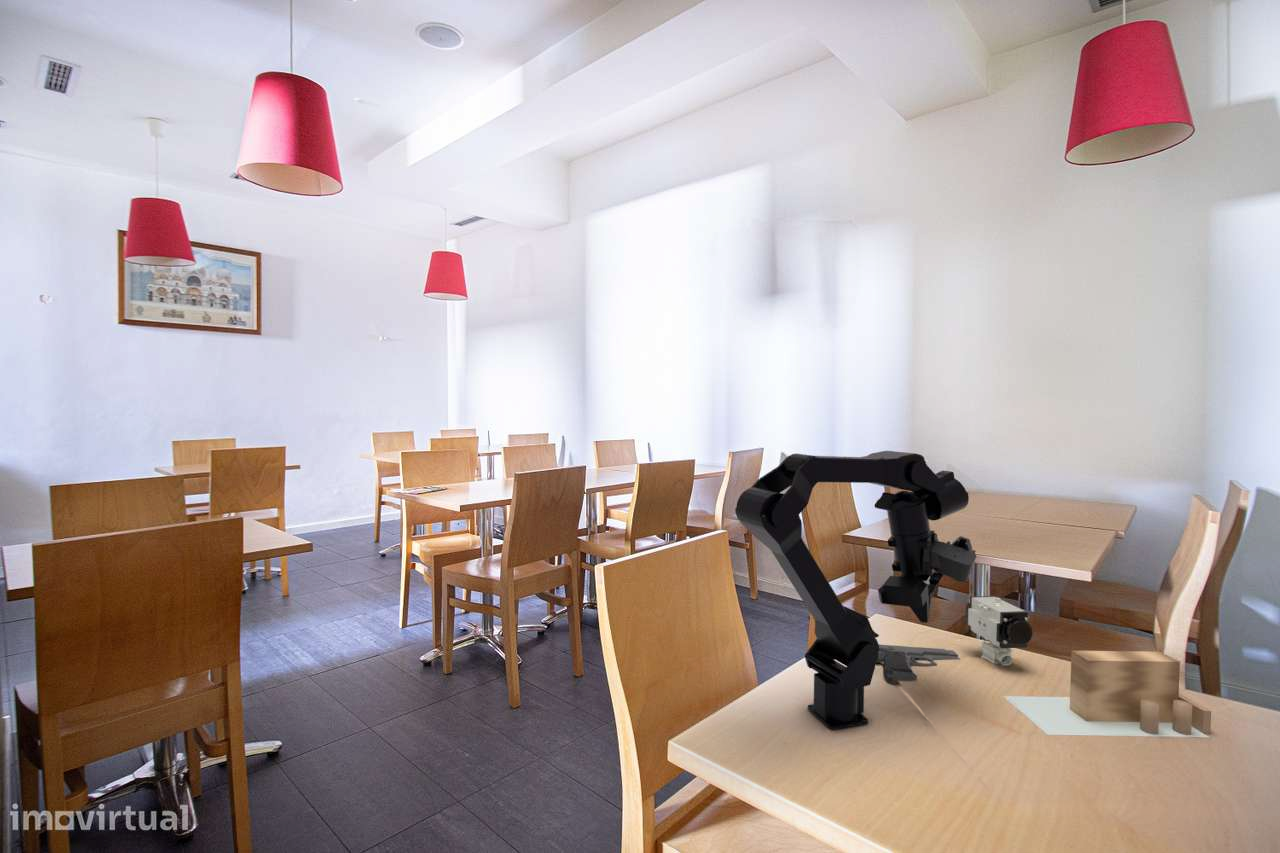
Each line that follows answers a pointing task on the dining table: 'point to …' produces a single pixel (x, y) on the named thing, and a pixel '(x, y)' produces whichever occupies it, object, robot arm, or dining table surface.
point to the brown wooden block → (1122, 684)
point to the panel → (1063, 721)
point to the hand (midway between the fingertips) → (924, 621)
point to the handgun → (909, 660)
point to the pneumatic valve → (998, 627)
